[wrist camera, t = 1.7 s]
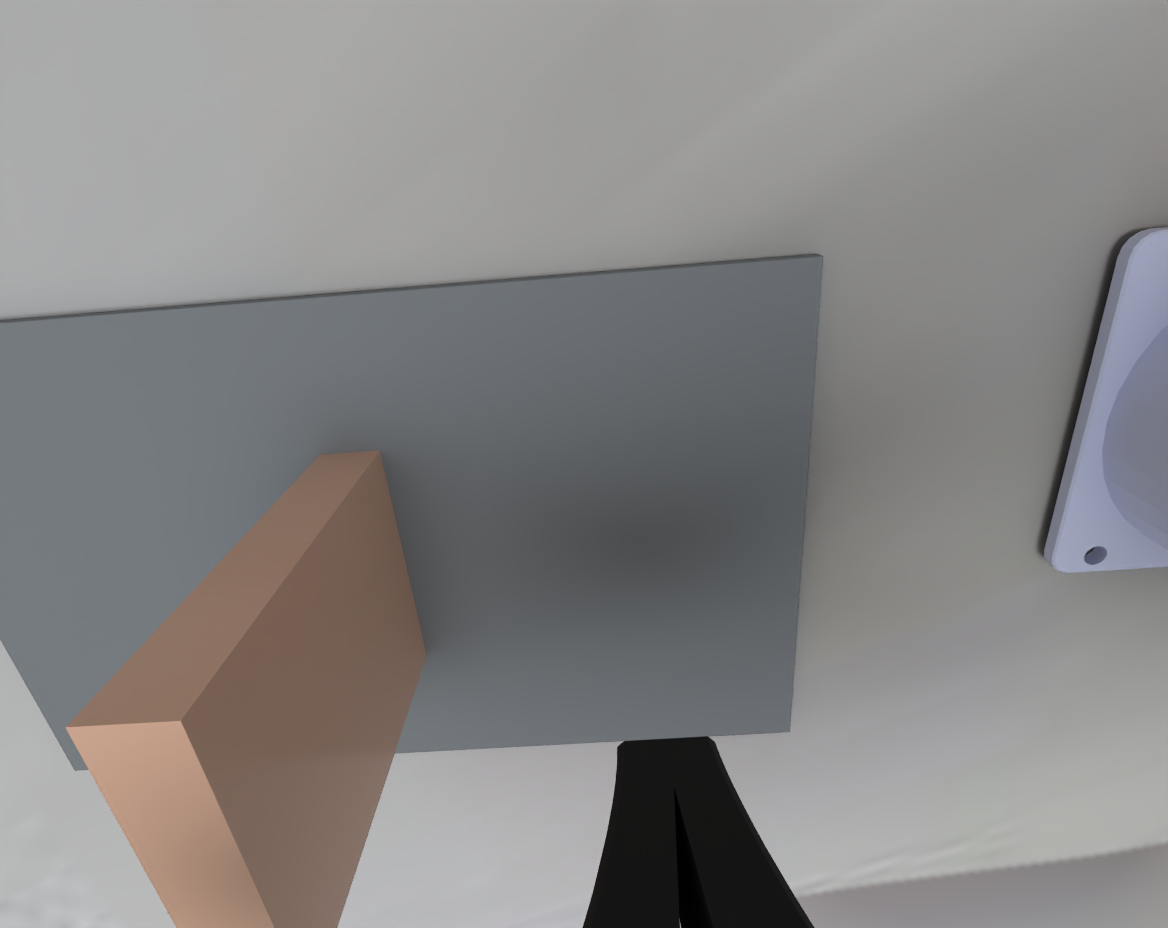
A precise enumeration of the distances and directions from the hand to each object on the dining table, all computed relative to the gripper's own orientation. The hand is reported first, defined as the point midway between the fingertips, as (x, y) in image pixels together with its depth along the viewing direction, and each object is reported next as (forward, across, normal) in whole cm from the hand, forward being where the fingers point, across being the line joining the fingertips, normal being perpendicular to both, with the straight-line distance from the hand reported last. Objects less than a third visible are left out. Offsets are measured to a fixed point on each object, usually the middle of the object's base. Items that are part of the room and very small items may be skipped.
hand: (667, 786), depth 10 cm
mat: (+7, +6, 0) cm, 10 cm away
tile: (+7, +6, 0) cm, 9 cm away
